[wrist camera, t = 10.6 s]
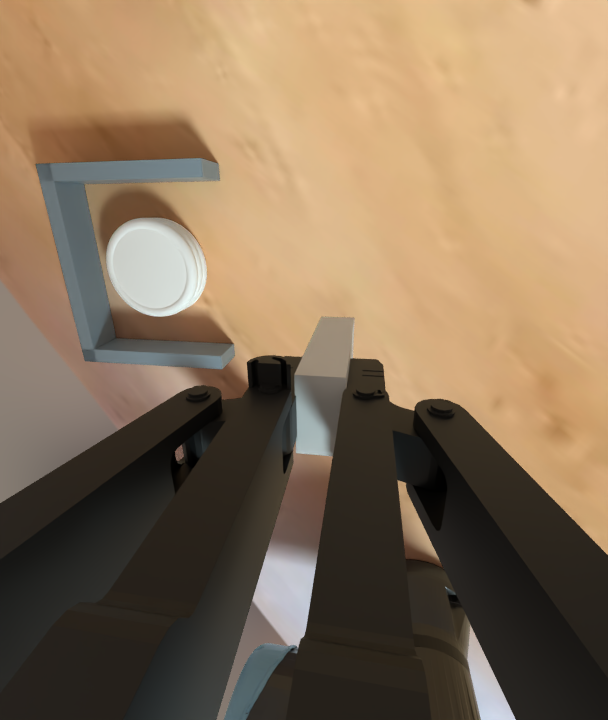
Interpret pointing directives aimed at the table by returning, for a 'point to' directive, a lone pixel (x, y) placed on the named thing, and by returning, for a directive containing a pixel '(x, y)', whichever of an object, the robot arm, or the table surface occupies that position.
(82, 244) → the box
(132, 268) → the white round container
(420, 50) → the table surface
